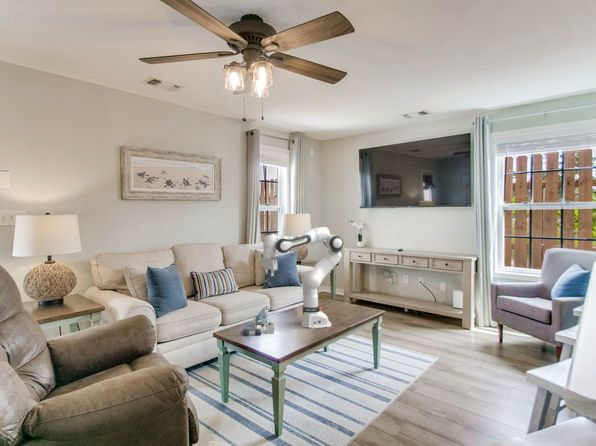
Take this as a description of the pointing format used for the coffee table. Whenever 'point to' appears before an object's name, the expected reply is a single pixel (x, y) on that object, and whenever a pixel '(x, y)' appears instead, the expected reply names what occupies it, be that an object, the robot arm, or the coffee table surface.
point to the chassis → (252, 330)
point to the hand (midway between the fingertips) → (269, 275)
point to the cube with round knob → (270, 328)
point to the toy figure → (261, 317)
